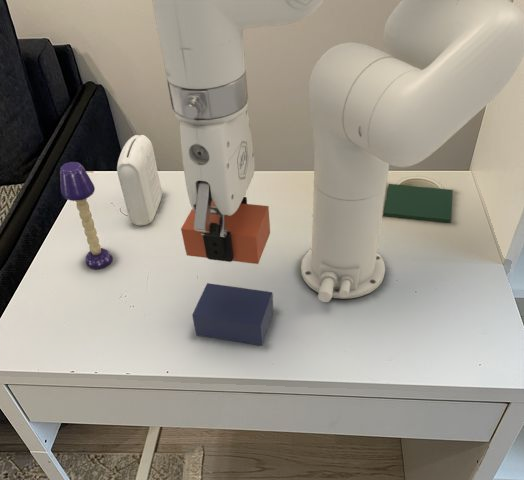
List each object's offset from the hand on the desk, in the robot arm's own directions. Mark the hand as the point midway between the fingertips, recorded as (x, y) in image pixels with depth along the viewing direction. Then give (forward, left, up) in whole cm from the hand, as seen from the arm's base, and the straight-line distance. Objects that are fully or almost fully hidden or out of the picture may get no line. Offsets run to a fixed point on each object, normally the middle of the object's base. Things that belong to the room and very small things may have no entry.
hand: (228, 240), depth 66 cm
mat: (+34, -23, -14) cm, 43 cm away
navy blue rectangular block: (0, 0, -14) cm, 14 cm away
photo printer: (+24, +23, -15) cm, 36 cm away
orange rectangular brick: (0, 0, -1) cm, 1 cm away
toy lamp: (+9, +25, -15) cm, 30 cm away
